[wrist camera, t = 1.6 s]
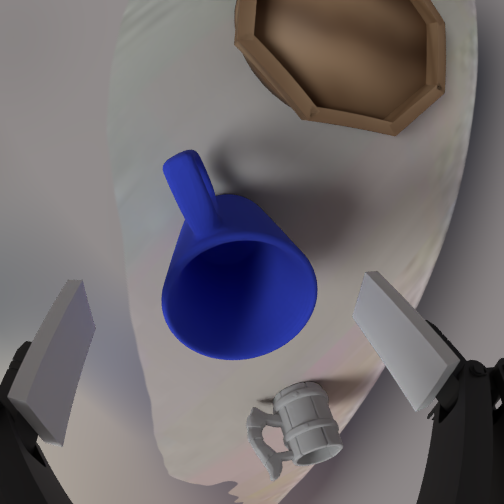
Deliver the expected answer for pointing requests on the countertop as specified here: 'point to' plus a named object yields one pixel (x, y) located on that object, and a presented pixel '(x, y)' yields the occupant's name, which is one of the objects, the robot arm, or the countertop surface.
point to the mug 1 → (231, 272)
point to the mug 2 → (296, 428)
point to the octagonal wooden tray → (347, 58)
